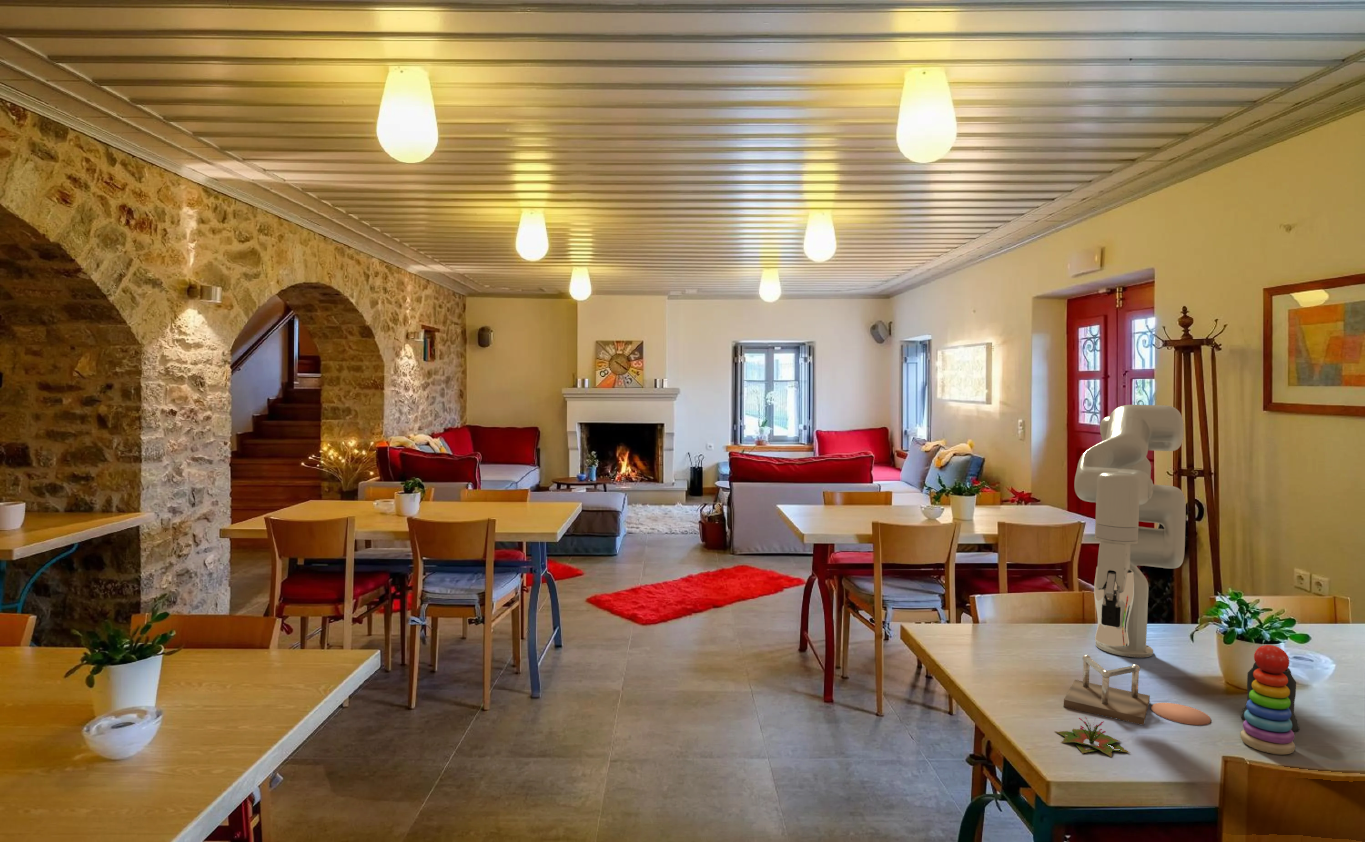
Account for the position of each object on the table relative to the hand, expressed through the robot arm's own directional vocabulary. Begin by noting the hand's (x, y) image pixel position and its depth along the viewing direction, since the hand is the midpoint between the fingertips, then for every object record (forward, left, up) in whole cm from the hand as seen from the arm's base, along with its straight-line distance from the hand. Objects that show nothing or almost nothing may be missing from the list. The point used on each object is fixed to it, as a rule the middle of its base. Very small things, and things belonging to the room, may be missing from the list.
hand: (1112, 620), depth 152 cm
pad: (-6, +12, -18) cm, 23 cm away
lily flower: (+19, -1, -19) cm, 27 cm away
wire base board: (-3, -1, -18) cm, 19 cm away
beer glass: (0, 0, -5) cm, 5 cm away
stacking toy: (+1, +25, -18) cm, 31 cm away
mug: (-14, +26, -19) cm, 35 cm away
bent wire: (-2, -1, -17) cm, 17 cm away
